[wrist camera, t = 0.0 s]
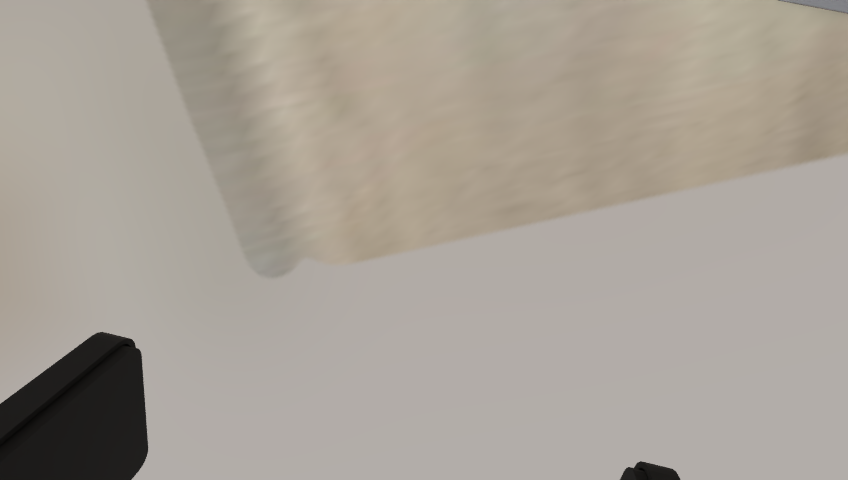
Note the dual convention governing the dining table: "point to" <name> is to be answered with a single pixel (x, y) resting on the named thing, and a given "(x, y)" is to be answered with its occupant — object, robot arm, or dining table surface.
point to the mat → (824, 4)
